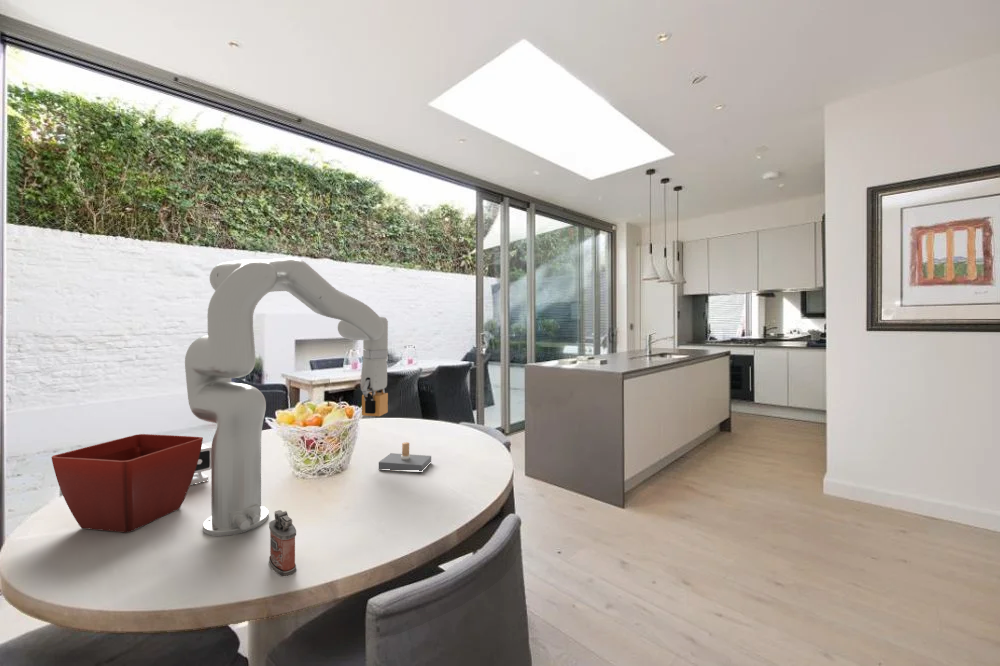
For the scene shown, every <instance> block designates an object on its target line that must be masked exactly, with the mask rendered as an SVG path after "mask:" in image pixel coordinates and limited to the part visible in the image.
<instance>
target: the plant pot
mask: <svg viewBox="0 0 1000 666" xmlns="http://www.w3.org/2000/svg"><path fill="white" fill-rule="evenodd" d="M203 441H204V438H203V437H201V436H189V435H188V436H187V435H172V434H171V435H170V434H148V433H147V434H145V433H139V434H134V435H129V436H125V437H123V438H122V437H121V438H117V439H114V440H110V441H106V442H101V443H98V444H94V445H90V446H86V447H85V446H84V447H82V448H78V449H74V450H70V451H69V450H68V451H67V452H66V451H65V452H62V453H58V454H54V455H52V456H51V462H52V466H53V469H54V473H55V477H56V481H57V483H58V486H59V490H60V492H61V494H62V496H63V499H64V501H65V504H66V505H67V507H68V509H69V511H70V513H71V515H72V516H73V518H74V520H75V521H76V522H77V524H78V526H79V527H80V528H81V529H86V530H96V531H97V530H98V531H107V532H116V533H117V532H118V533H129V532H133V531H136V530H138V529H140V528H142V527H144V526H146V525H148V524H151V523H152V522H154V521H157V520H158V519H161V518H163V517H164V516H167V515H169V514H172V513H174V512H176V511H177V510H180V509H181V506H183V503H184V501H185V498H186V496H187V494H188V491H189V489H190V487H191V486H190V484H191V481H192V479H193V476H194V474H196V473H195V470H196V466H197V463H198V459H199V456H200V452H201V447H202V444H203Z"/></svg>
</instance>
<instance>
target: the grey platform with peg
mask: <svg viewBox="0 0 1000 666" xmlns="http://www.w3.org/2000/svg"><path fill="white" fill-rule="evenodd" d="M401 445H402V446H401V447H402V449H401V453H393V452H390V453H389V454H388V455H387V456H385V457H384V458H382V459H381V460H380V461H378V470H379V469H390V470H419V471H422V470H423V469H424V468H425V467H426V466H427V465H428V464H429V463H430V462H431V463H432V455H426V454H425V455H424V454H423V455H421V454H410V442H407V441H406V442H402V444H401Z"/></svg>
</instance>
